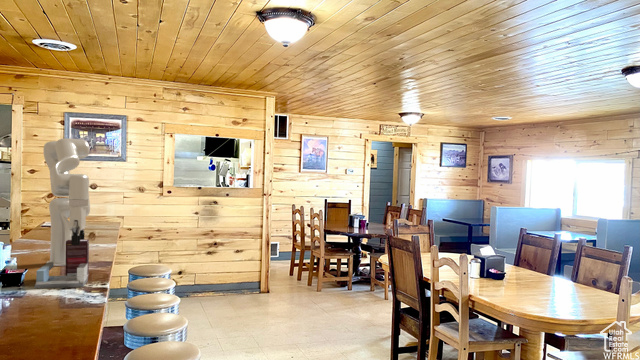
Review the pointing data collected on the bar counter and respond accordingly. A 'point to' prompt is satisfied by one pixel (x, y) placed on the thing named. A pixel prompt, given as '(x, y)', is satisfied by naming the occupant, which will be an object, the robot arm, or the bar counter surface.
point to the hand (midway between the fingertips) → (78, 243)
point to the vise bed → (66, 279)
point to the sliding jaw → (44, 272)
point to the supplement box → (76, 256)
